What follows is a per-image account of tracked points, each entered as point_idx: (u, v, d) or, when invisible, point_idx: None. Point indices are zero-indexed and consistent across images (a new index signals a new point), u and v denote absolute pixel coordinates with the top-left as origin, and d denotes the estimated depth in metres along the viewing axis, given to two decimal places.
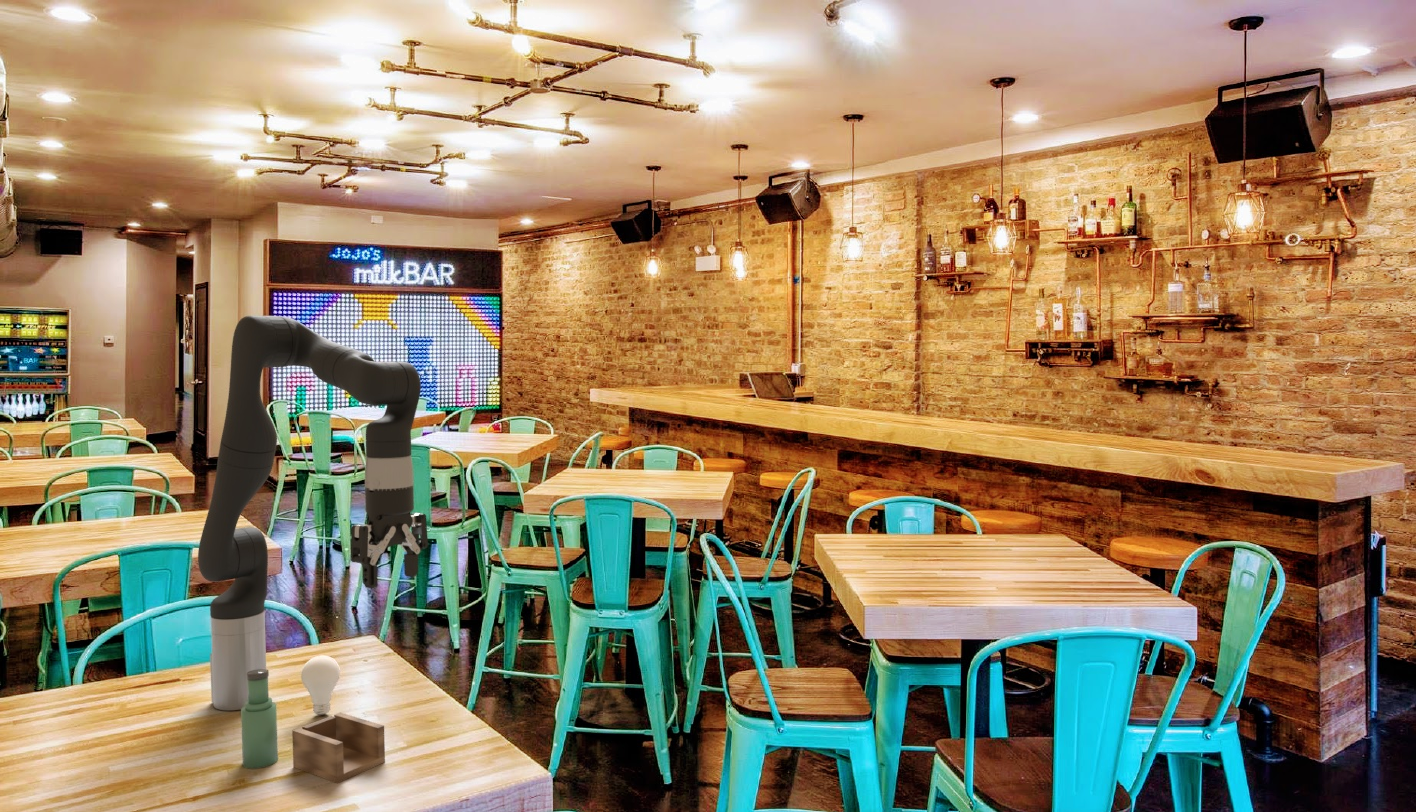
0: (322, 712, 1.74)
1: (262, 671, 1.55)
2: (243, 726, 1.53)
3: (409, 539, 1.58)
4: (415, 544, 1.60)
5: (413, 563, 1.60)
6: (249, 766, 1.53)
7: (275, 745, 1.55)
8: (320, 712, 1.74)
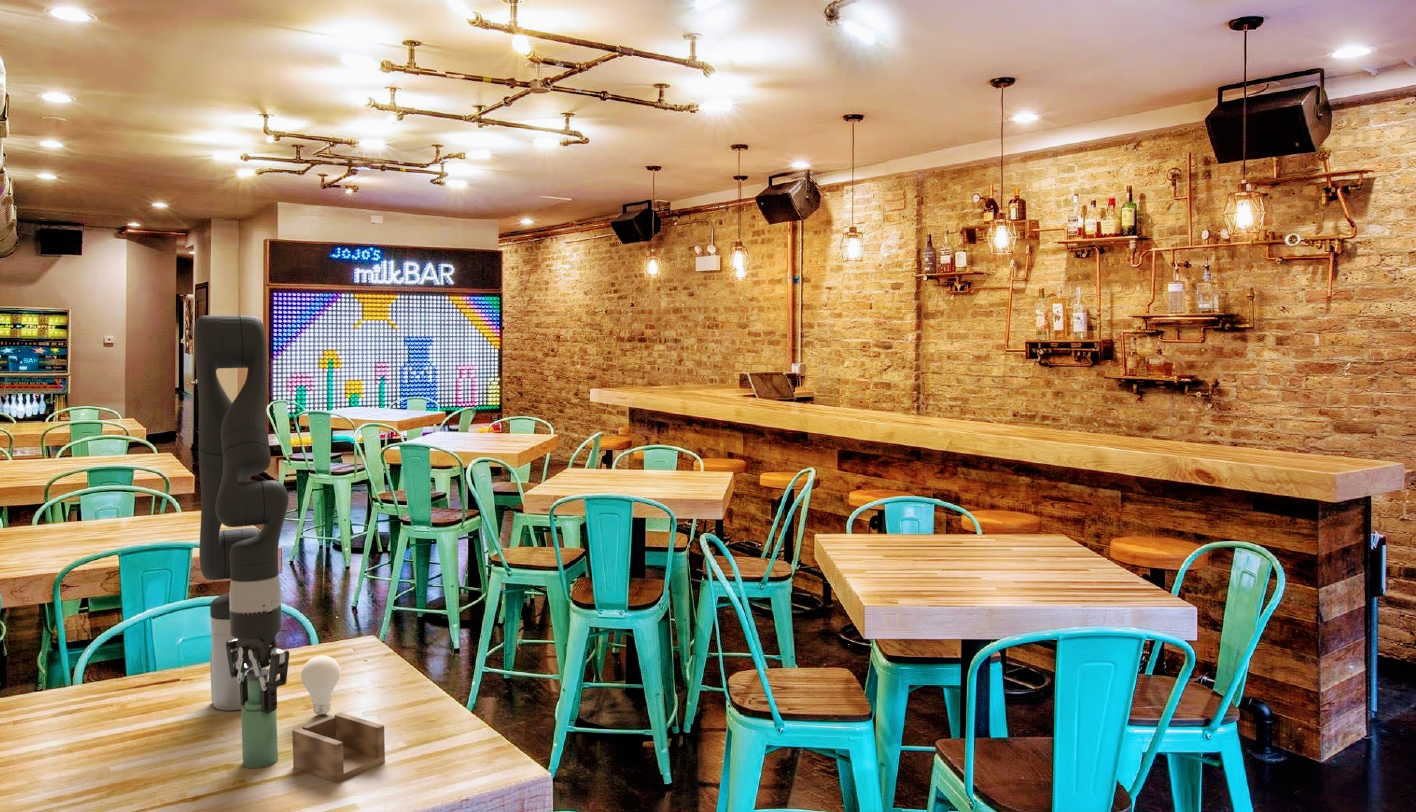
0: (322, 712, 1.74)
1: None
2: (243, 726, 1.53)
3: None
4: (253, 669, 1.57)
5: None
6: (250, 766, 1.53)
7: (275, 745, 1.55)
8: (320, 712, 1.74)
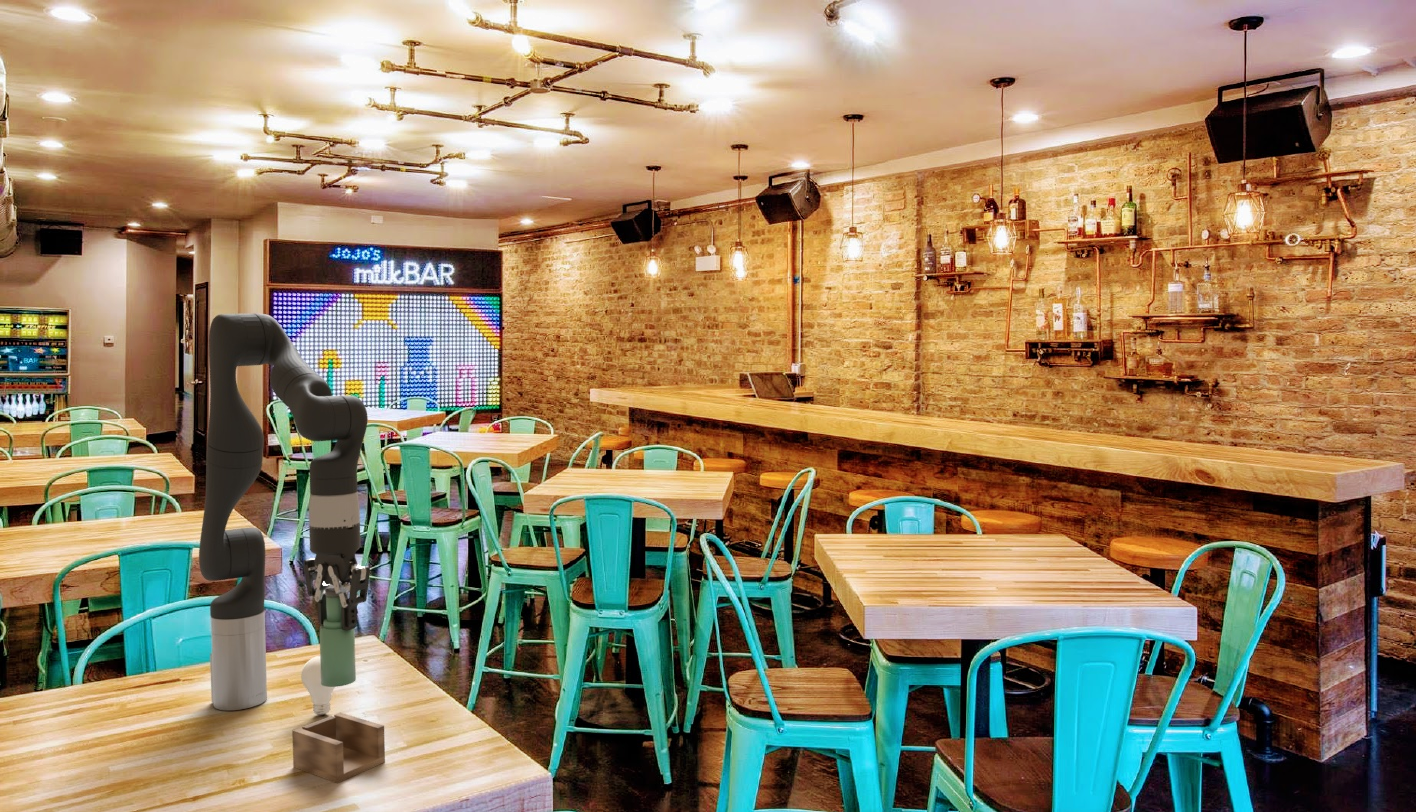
0: (322, 712, 1.74)
1: None
2: (322, 644, 1.51)
3: None
4: None
5: None
6: (329, 685, 1.51)
7: (353, 664, 1.53)
8: (320, 712, 1.74)
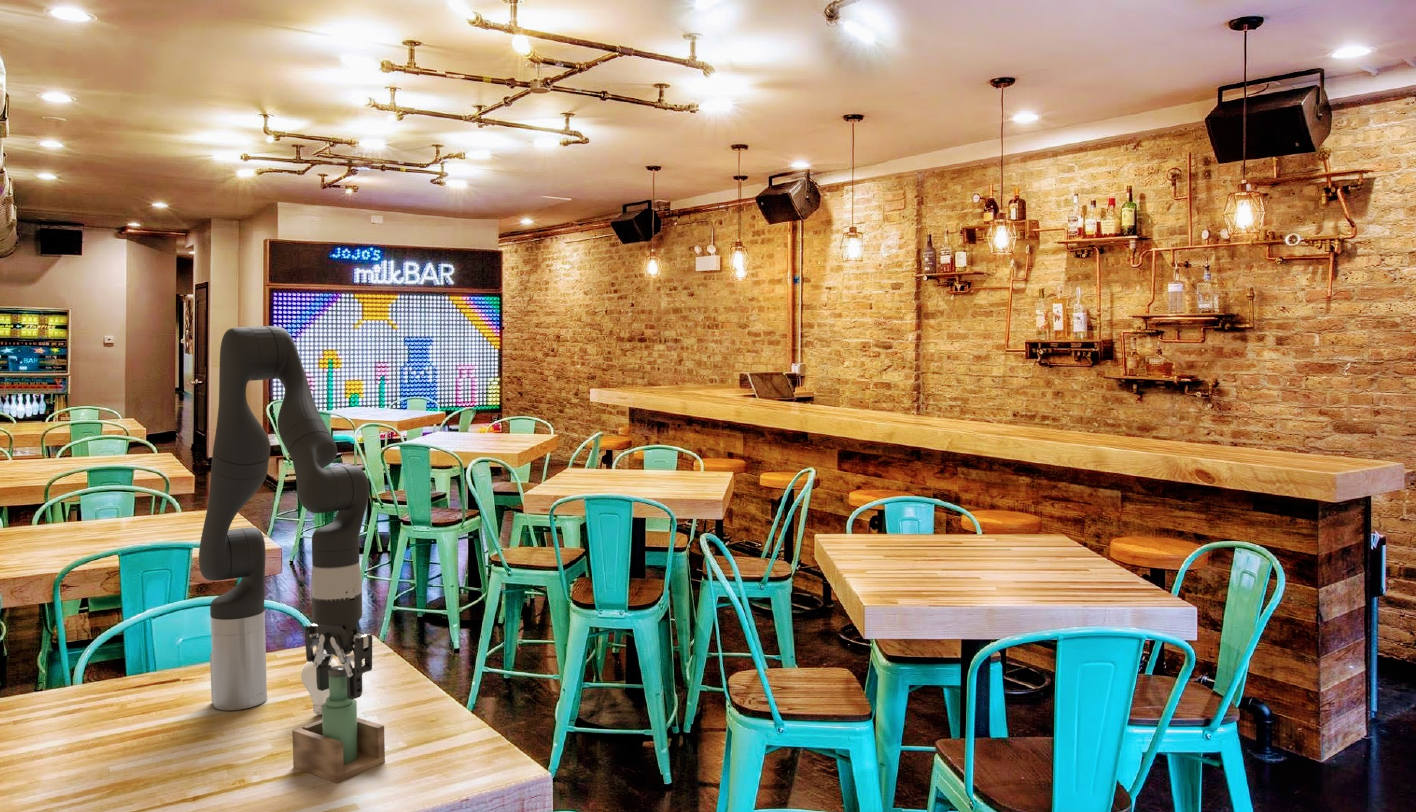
0: None
1: (343, 667, 1.54)
2: (324, 723, 1.52)
3: None
4: None
5: None
6: None
7: (355, 742, 1.54)
8: (320, 712, 1.74)
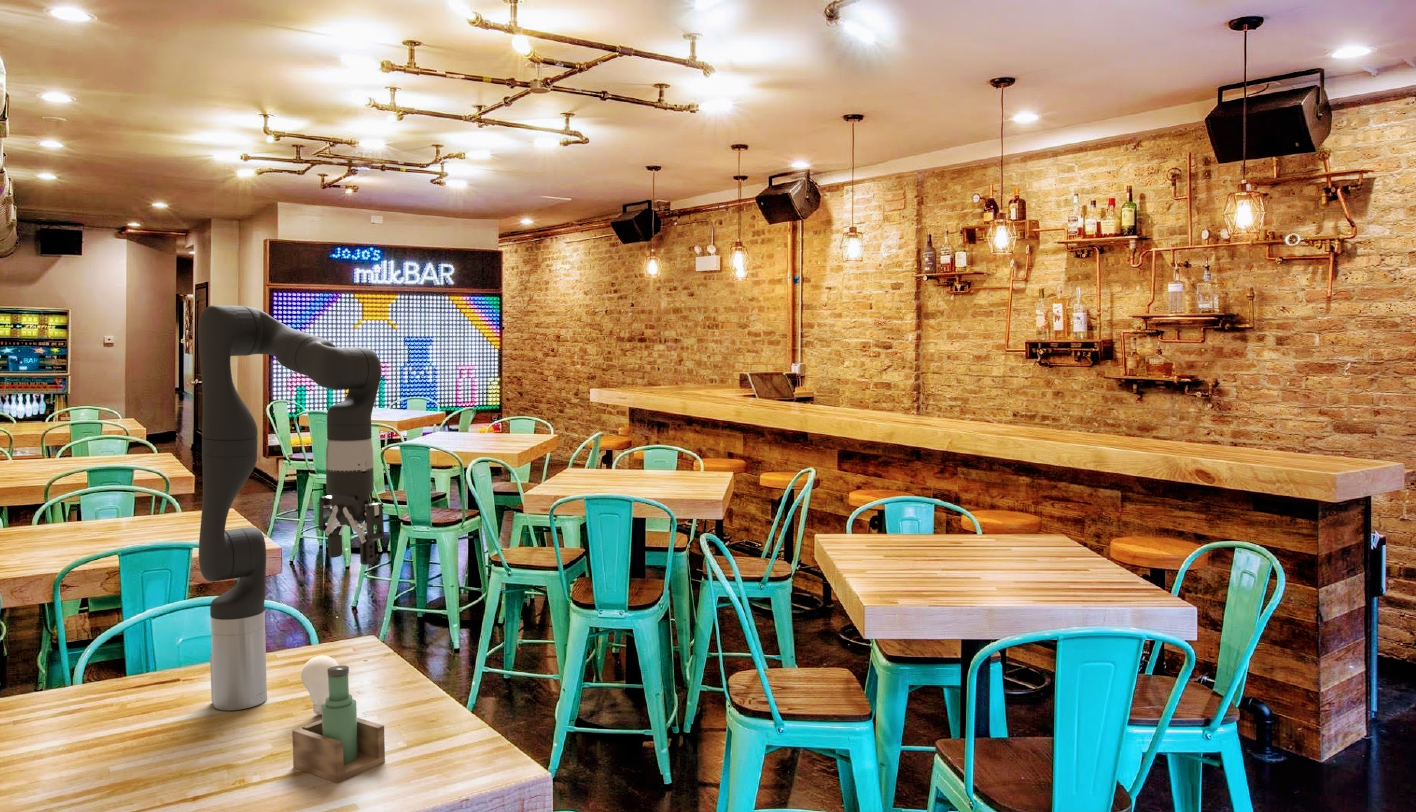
0: None
1: (342, 667, 1.54)
2: (324, 723, 1.52)
3: None
4: None
5: (341, 542, 1.66)
6: None
7: (355, 742, 1.54)
8: (320, 712, 1.74)
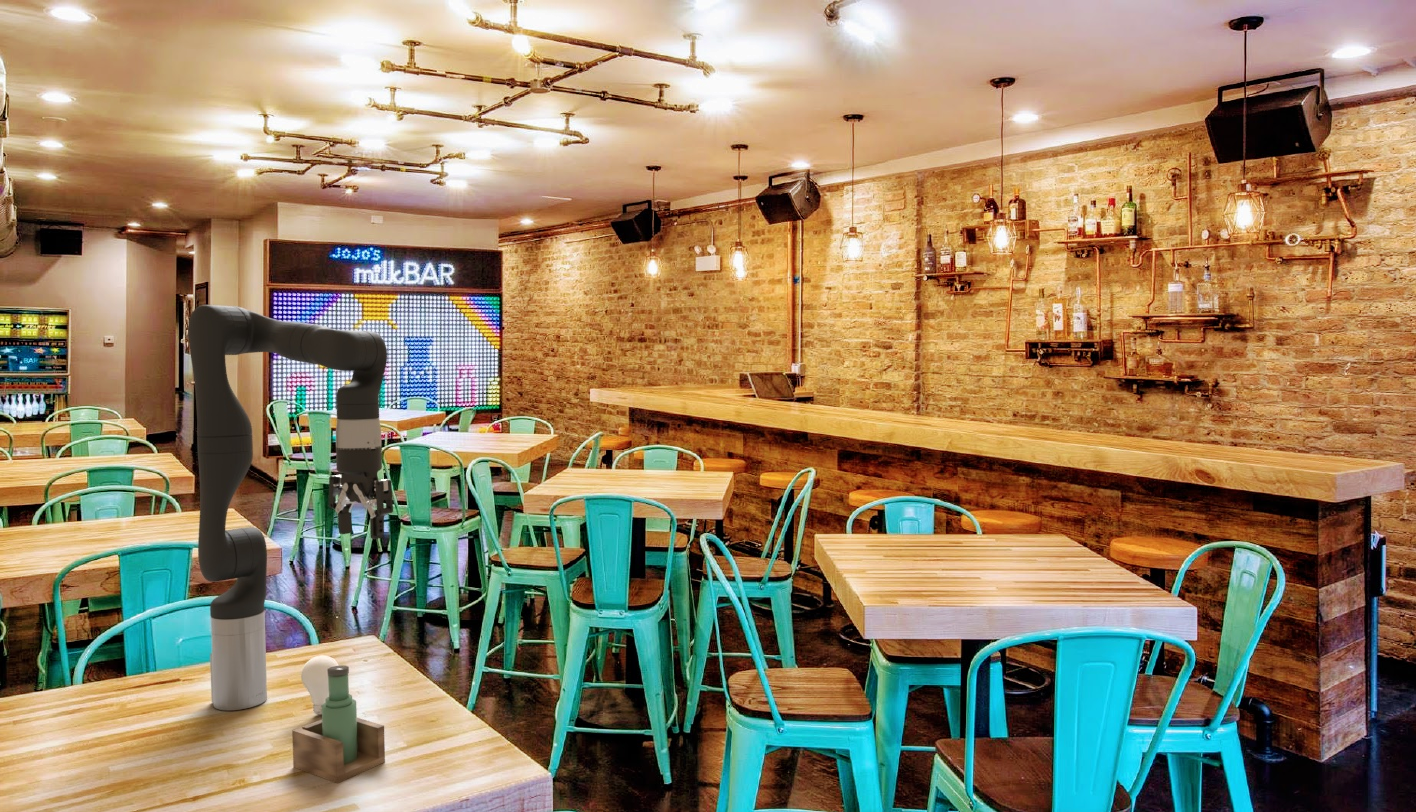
0: None
1: (342, 667, 1.54)
2: (324, 723, 1.52)
3: None
4: (350, 502, 1.72)
5: (350, 519, 1.72)
6: None
7: (355, 742, 1.54)
8: (320, 712, 1.74)
